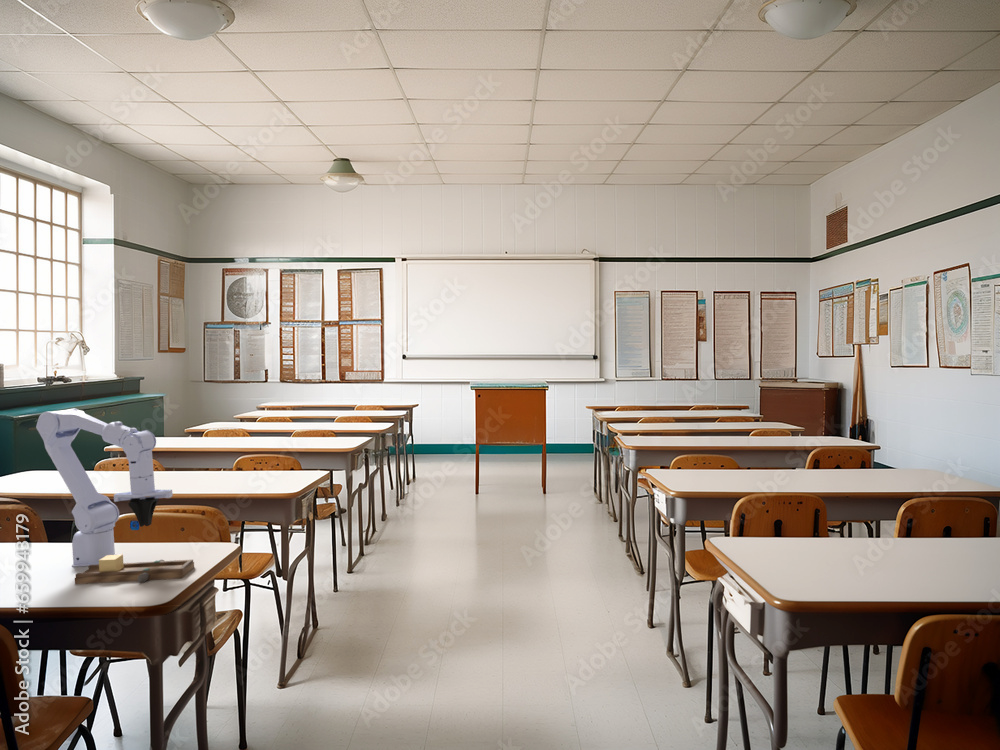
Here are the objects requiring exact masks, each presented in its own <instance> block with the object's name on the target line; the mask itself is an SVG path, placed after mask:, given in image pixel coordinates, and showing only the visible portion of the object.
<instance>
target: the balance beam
mask: <svg viewBox="0 0 1000 750" xmlns="http://www.w3.org/2000/svg"><path fill="white" fill-rule="evenodd" d="M123 565H124V568H122V569H121V570H119V571H104V572H99V564H98V565H90V566H87V567H88V569H87V570H85V571H83V572H76V573H75V577H74V585H81V584H83V585H84V584H96V583H97V584H99V583H118V582H135V581H137V582H139V583H141V584H142V583H145V582H147V581H153V580H168V579H169V580H171V579H172V580H173V579H183V578H184V577H185V576H187V575H188V574H189V573H190V572H191V571H192V570H193V569H194V568H195V561H194V559H179V560H176V559H175V560H164V559H160V560H155V561H139V562H138V561H137V562H123Z"/></svg>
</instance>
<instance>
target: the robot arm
mask: <svg viewBox="0 0 1000 750" xmlns="http://www.w3.org/2000/svg"><path fill="white" fill-rule="evenodd" d="M35 428H36V430H37V431H38V434H39V435H40V438H41V439H42V441H43V443H44V448H45V450H46V452H47V454H48V456H49V457H50V459H51V460H52V463H53V464H54V466H55V468H56V470H57V472H58V473H59V475H60V476H61V478H62V480H63V481H64V483H65V485H66V487H67V489H68V490H69V493H70V495H72V498H73V499H74V501H75V505H74V506H73V508H72V510H71V514H72V516H73V519H74V523H75V526H76V528H77V530H78V531H77V532H75V533H74V535H73V538H72V541H71V545H72V546H71V547H72V565H71V567H75V568H77V567H88V566H90V565H98V564H99V560H100V559H102V558H103V557H105V556H106V555H120V554H121V553H117V554H115V553H116V551H115V537H114V535H115V534H114V527H116V523H117V521H119V519H120V510H119V508H118V506H117V505H116V504H115V503H117V502H121V501H122V502H123V501H130V502H129V503H128V507H129V509H131V510H132V512H133V514H134V515H135V518H136V519H137V522H138V525H139V527H144V526H145V527H150V526H151V525H152V521H153V515H154V512H155V508H156V507H157V505H158V502H159V499H163V498H165V499H171V498H173V496H174V495H173V489H156V488H155V487H156V486H155V474H154V472H155V471H154V462H153V461H154V460H153V450H154V449H155V447H156V445H157V439H156V436H155V434H154V433H153V432H152V431H150V430H148V429H145V430H141V431H139V430H138V429H137V428H136V427H129V426H127V425H124V424H123V422H122V421H119V420H118V421H112V422H109V423H107V422H105V421H102V420H100V419H98V418H96V417H94V416H91V415H89V414H87V413H85V411H84V410H79V409H78V408H74V407H73V408H68V409H63V410H61V409H60V410H54V411H43V412H42V413H41V414H40V415H39V417H38V419H37V423H36V426H35ZM80 430H83V431H85V432H90V433H93V434H96V435H99V436H101V438H102V440H103V442H105V443H108V444H110V445H114V446H116V447H119V448H121V450H123V452H124V454H125V455H126V460H127V461H128V470H129V481H130V482H129V486H130V491H127V492H117V493H114V494H113V502H114V503H113V502H112V501H111V500H110V498H109V497H108V496H107V495H104V494H103V493H99V492H98V490H97V489H96V487H95V485H94V483H93V482H92V480H91V478H90V477H89V475H88V473H87V472H86V470H85V468H84V467H83V464H82V463H81V461H80V460H79V457H78V456H77V454H76V452H75V451H74V449H73V447H72V442H73V441H74V440H75V438H76V437H77V435H78V434H79V432H80Z"/></svg>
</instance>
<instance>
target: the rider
mask: <svg viewBox="0 0 1000 750" xmlns="http://www.w3.org/2000/svg"><path fill="white" fill-rule="evenodd" d="M119 554H120V555H106V556H105V557H103V558H102V559H100V560H99V572H104V571H119V570H121V569H122V568H124V565H123V563H124V555H123V553H122V554H121V553H119Z"/></svg>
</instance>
